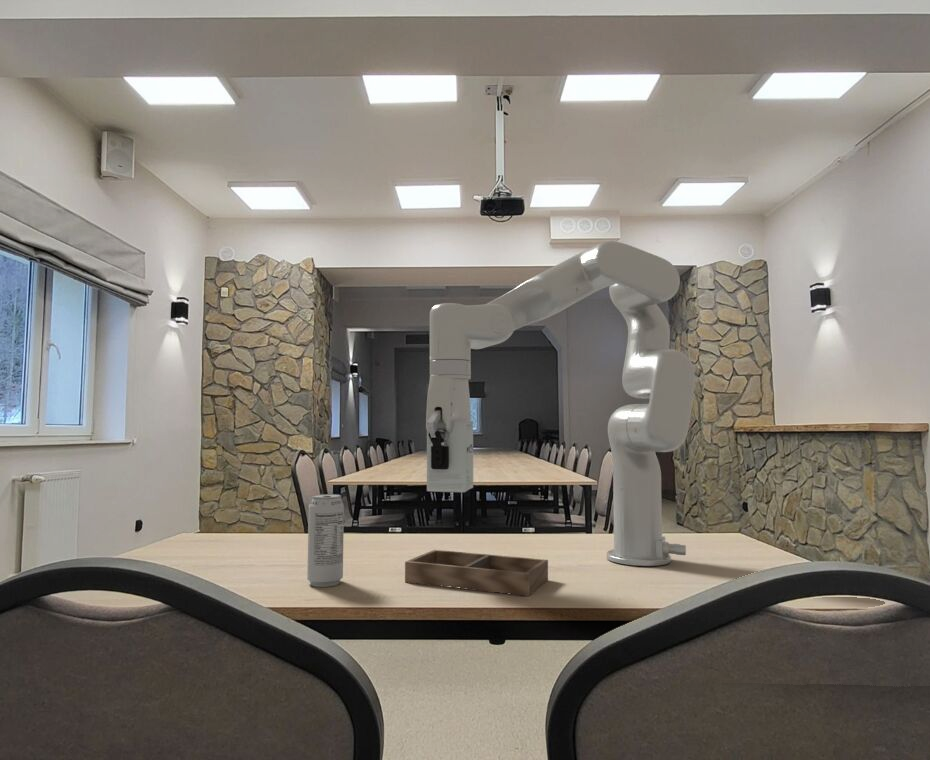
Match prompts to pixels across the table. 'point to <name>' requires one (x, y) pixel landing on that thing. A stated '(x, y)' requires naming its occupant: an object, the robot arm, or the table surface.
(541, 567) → the frame
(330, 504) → the energy drink can
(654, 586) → the table surface
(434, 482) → the supplement box
